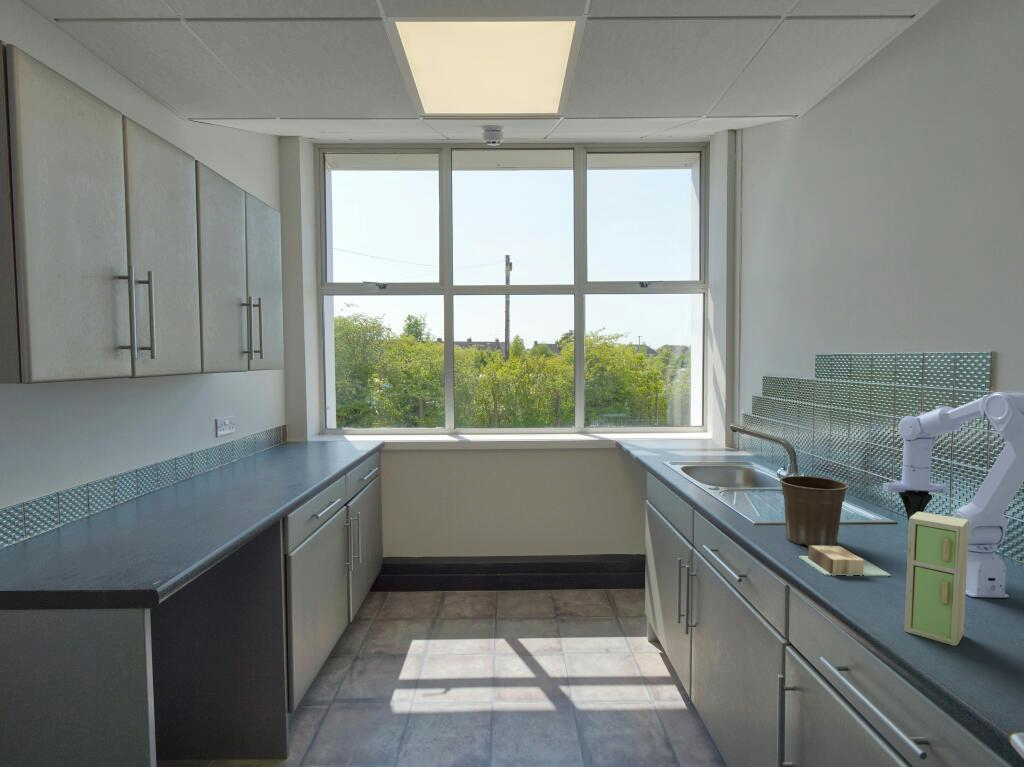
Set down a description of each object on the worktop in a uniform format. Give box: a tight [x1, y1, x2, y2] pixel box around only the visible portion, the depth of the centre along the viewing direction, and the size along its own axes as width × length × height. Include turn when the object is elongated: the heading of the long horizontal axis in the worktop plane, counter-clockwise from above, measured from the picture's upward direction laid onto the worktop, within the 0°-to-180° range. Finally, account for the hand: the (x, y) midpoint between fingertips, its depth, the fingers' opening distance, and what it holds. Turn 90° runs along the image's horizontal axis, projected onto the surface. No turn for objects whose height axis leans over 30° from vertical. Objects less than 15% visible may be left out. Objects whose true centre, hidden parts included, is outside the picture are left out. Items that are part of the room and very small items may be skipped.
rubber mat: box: [798, 555, 892, 577], centre depth 142 cm, size 12×15×1 cm
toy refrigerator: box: [904, 511, 969, 647], centre depth 107 cm, size 8×7×21 cm
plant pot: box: [779, 475, 849, 548], centre depth 160 cm, size 16×16×16 cm
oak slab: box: [807, 545, 865, 574], centre depth 141 cm, size 10×3×8 cm
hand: (913, 521), depth 146 cm, fingers closed
